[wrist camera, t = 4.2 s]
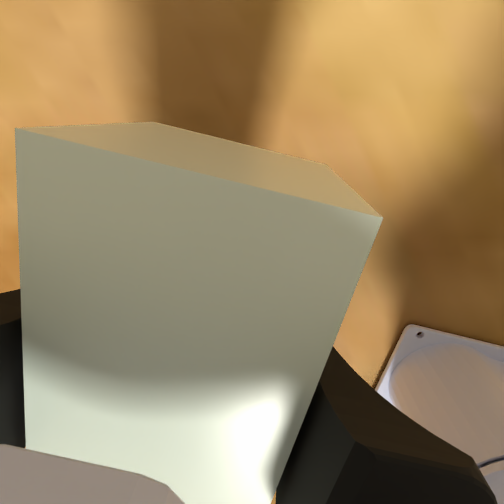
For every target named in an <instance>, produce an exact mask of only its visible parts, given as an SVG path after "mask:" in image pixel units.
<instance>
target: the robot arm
mask: <svg viewBox="0 0 504 504" xmlns="http://www.w3.org/2000/svg"><path fill="white" fill-rule="evenodd" d="M419 332H422V333H421V334H420V335H416V334H417V333H419ZM25 446H26V437H25V408H24V378H23V349H22V320H21V291H20V289H18V290H14V291H10V292H5V293H0V504H185V503H184V501H183V500H182V499H181V498H180V497H179V496H178V495H177V494H176V493H175V492H174V491H173V490H172V489H171V488H170V487H169V486H168V485H167V484H164V483H162V482H159V481H157V480H154V479H152V478H150V477H147V476H145V475H142V474H139V473H134V472H130V471H125V470H121V469H116V468H112V467H107V466H102V465H98V464H93V463H89V462H84V461H80V460H75V459H70V458H66V457H61V456H57V455H52V454H48V453H43V452H38V451H34V450H29V449H25ZM276 504H504V346H500V345H496V344H492V343H488V342H483V341H479V340H475V339H471V338H467V337H463V336H459V335H455V334H451V333H447V332H443V331H438V330H434V329H430V328H426V327H422V326H418V325H413V324H411V325H408V326H406V327H405V329H404V331H403V333H402V335H401V337H400V339H399V341H398V343H397V345H396V347H395V349H394V351H393V353H392V355H391V357H390V360H389V362H388V364H387V366H386V368H385V370H384V372H383V374H382V376H381V378H380V380H379V382H378V384H377V386H376V388H375V390H374V389H373V388H372V387H371V386H370V385H369V384H368V383H367V382H365V381H364V380H363V379H362V378H361V377H360V376H359V375H358V374H357V373H356V372H355V371H354V370H353V369H352V368H351V367H350V366H349V364H348V363H347V362H346V361H345V360H344V359H343V358H342V357H341V355H340V354H339V353H338V352H337V351H336V349H335V348H334V347H332V349H331V352H330V354H329V357H328V359H327V362H326V364H325V367H324V369H323V372H322V374H321V377H320V379H319V382H318V385H317V387H316V390H315V392H314V395H313V397H312V400H311V402H310V405H309V407H308V410H307V412H306V415H305V418H304V420H303V423H302V425H301V428H300V430H299V433H298V435H297V438H296V440H295V443H294V445H293V448H292V451H291V453H290V456H289V458H288V461H287V463H286V466H285V468H284V471H283V473H282V476H281V478H280V481H279V484H278V486H277V489H276Z"/></svg>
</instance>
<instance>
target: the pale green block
mask: <svg viewBox="0 0 504 504" xmlns="http://www.w3.org/2000/svg"><path fill="white" fill-rule="evenodd" d="M15 145H16V174H17V203H18V232H19V261H20V291H21V320H22V349H23V378H24V408H25V437H26V449H29V450H34V451H38V452H43V453H48V454H52V455H57V456H61V457H66V458H70V459H75V460H80V461H84V462H89V463H93V464H98V465H102V466H107V467H112V468H116V469H121V470H125V471H130V472H134V473H139V474H142V475H145V476H147V477H150V478H152V479H154V480H157V481H159V482H162V483H164V484H167V485H168V486H169V487H170V488H171V489H172V490H173V491H174V492H175V493H176V494H177V495H178V496H179V497H180V498H181V499H182V500H183V501H184V503H185V504H271V501H272V499H273V496H274V494H275V491H276V489H277V486H278V484H279V481H280V478H281V476H282V473H283V471H284V468H285V466H286V463H287V461H288V458H289V456H290V453H291V451H292V448H293V445H294V443H295V440H296V438H297V435H298V433H299V430H300V428H301V425H302V423H303V420H304V418H305V415H306V412H307V410H308V407H309V405H310V402H311V400H312V397H313V395H314V392H315V390H316V387H317V385H318V382H319V379H320V377H321V374H322V372H323V369H324V367H325V364H326V362H327V359H328V357H329V354H330V352H331V349H332V347H333V344H334V341H335V339H336V336H337V334H338V331H339V329H340V326H341V324H342V321H343V319H344V316H345V314H346V311H347V308H348V306H349V303H350V301H351V298H352V296H353V293H354V291H355V288H356V286H357V283H358V281H359V278H360V275H361V273H362V270H363V268H364V265H365V263H366V260H367V258H368V255H369V253H370V250H371V248H372V245H373V243H374V240H375V237H376V235H377V232H378V230H379V227H380V225H381V222H382V220H383V217H382V216H381V215H380V214H379V213H378V212H376V211H375V210H374V209H373V208H372V207H371V206H370V205H369V204H368V203H367V202H366V201H365V200H364V199H363V198H362V197H361V196H359V195H358V194H357V193H356V192H355V191H354V190H353V189H352V188H351V187H350V186H349V185H348V184H347V183H346V182H345V181H344V180H343V179H341V178H340V177H339V176H338V175H337V174H336V173H335V172H334V171H333V170H332V169H331V168H330V167H329V166H328V165H327V164H323V163H319V162H315V161H311V160H307V159H303V158H299V157H295V156H291V155H287V154H283V153H279V152H275V151H271V150H267V149H263V148H259V147H255V146H251V145H247V144H242V143H238V142H234V141H230V140H226V139H222V138H218V137H214V136H210V135H206V134H202V133H198V132H194V131H190V130H186V129H182V128H178V127H174V126H170V125H166V124H162V123H158V122H134V123H112V124H90V125H68V126H46V127H24V128H15Z"/></svg>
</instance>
